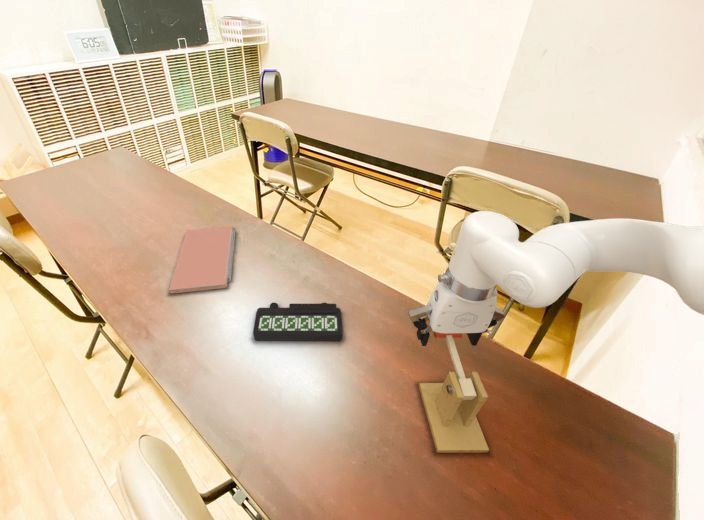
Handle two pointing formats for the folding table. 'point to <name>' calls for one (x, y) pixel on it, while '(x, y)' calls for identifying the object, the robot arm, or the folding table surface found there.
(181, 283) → the notebook
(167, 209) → the folding table surface
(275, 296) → the folding table surface
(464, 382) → the lever
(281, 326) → the digital display
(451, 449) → the bracket
